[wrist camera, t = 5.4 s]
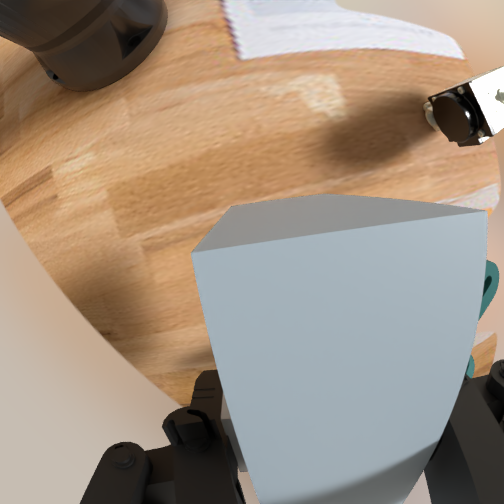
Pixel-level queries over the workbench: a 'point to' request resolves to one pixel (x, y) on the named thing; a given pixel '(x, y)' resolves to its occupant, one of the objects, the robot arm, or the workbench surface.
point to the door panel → (341, 338)
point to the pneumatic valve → (469, 109)
